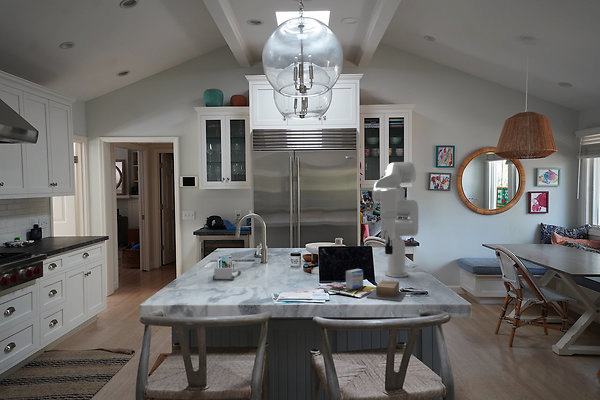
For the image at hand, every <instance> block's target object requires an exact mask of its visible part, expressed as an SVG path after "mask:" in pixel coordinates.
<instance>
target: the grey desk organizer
mask: <svg viewBox="0 0 600 400" xmlns="http://www.w3.org/2000/svg"><path fill="white" fill-rule="evenodd" d="M225 263H226V264H227V265H226V266H227V267H214V270H213V271H214V272H213V275H212V281H216V280H231V281H232V282H234V280H235V278H236V277H237V276H240V275H241V274H242V271H241V270H240V269H239V270H238V269H235V263H236V261H233V259H232V258H230V257H227V258H225ZM230 264H232V267H229V265H230ZM237 270H238V271H237Z"/></svg>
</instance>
